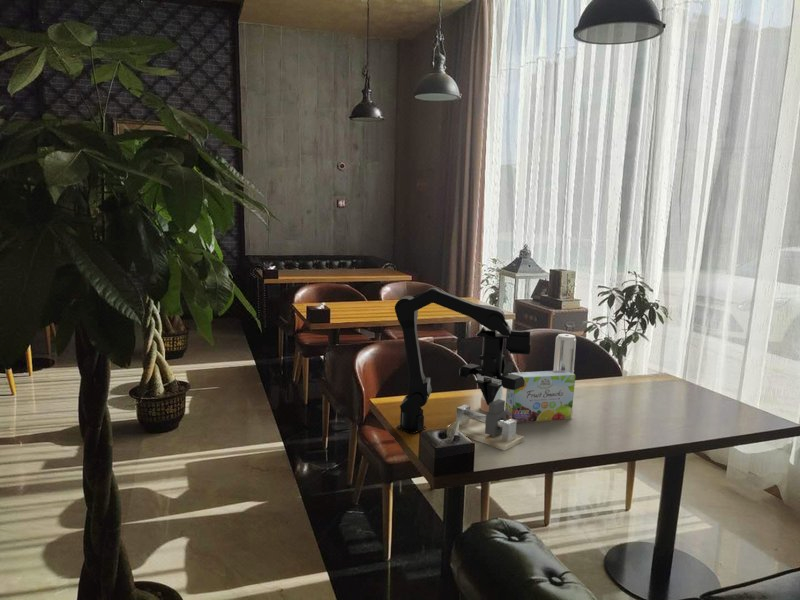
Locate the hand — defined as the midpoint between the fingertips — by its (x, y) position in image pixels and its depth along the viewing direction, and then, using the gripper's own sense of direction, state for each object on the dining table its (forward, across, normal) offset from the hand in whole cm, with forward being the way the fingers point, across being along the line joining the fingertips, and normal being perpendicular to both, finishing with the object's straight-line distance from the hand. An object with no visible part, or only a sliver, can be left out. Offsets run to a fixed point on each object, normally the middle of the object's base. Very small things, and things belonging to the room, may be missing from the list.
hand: (489, 405), depth 162 cm
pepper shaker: (+10, +12, -20) cm, 25 cm away
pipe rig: (+8, +1, 0) cm, 8 cm away
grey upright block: (+7, -2, 0) cm, 8 cm away
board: (+9, +1, 0) cm, 9 cm away
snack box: (+10, -3, -24) cm, 26 cm away
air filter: (+10, -3, -39) cm, 40 cm away
